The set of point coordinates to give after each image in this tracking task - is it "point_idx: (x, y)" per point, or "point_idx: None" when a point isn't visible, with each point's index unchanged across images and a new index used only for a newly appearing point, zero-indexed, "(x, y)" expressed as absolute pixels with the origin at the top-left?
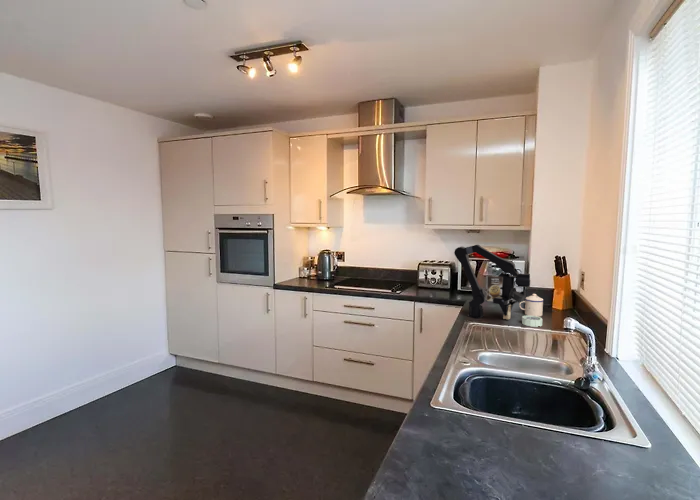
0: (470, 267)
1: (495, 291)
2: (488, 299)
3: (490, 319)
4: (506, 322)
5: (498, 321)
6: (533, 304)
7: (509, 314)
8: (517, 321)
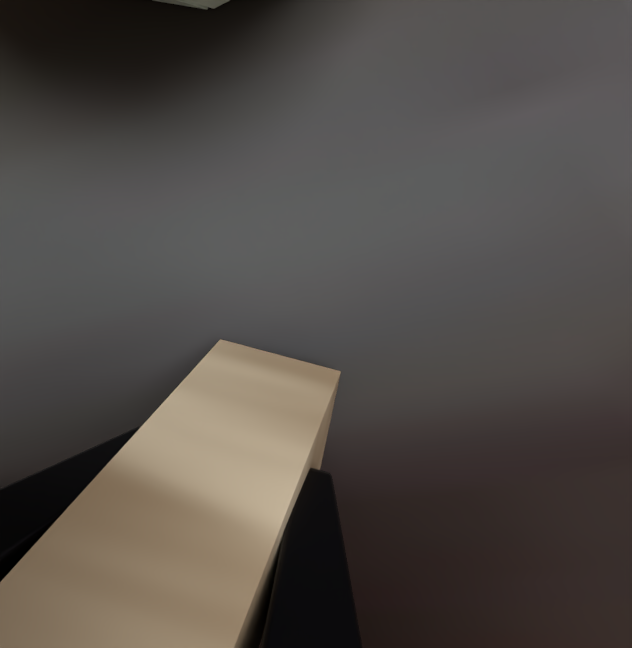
0: None
1: None
2: None
3: (428, 625)
4: (470, 354)
5: (489, 503)
6: None
7: (221, 425)
8: (193, 156)
